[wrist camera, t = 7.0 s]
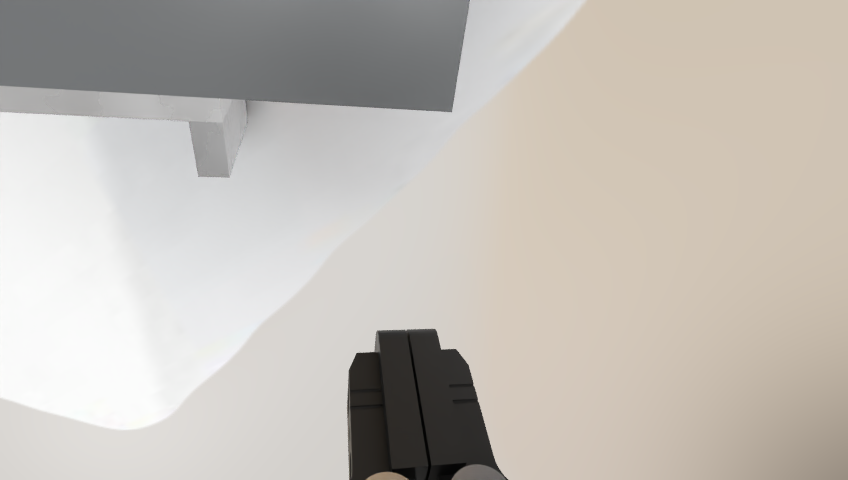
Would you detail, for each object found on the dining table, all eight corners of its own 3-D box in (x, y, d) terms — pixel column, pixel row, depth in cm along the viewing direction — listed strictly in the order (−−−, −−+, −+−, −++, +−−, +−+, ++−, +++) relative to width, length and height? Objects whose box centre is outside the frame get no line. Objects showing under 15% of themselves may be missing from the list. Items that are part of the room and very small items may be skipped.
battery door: (45, 39, 26) (-30, 84, 21) (241, 53, 28) (219, 98, 23) (69, 113, 29) (8, 170, 23) (247, 122, 31) (229, 177, 25)
